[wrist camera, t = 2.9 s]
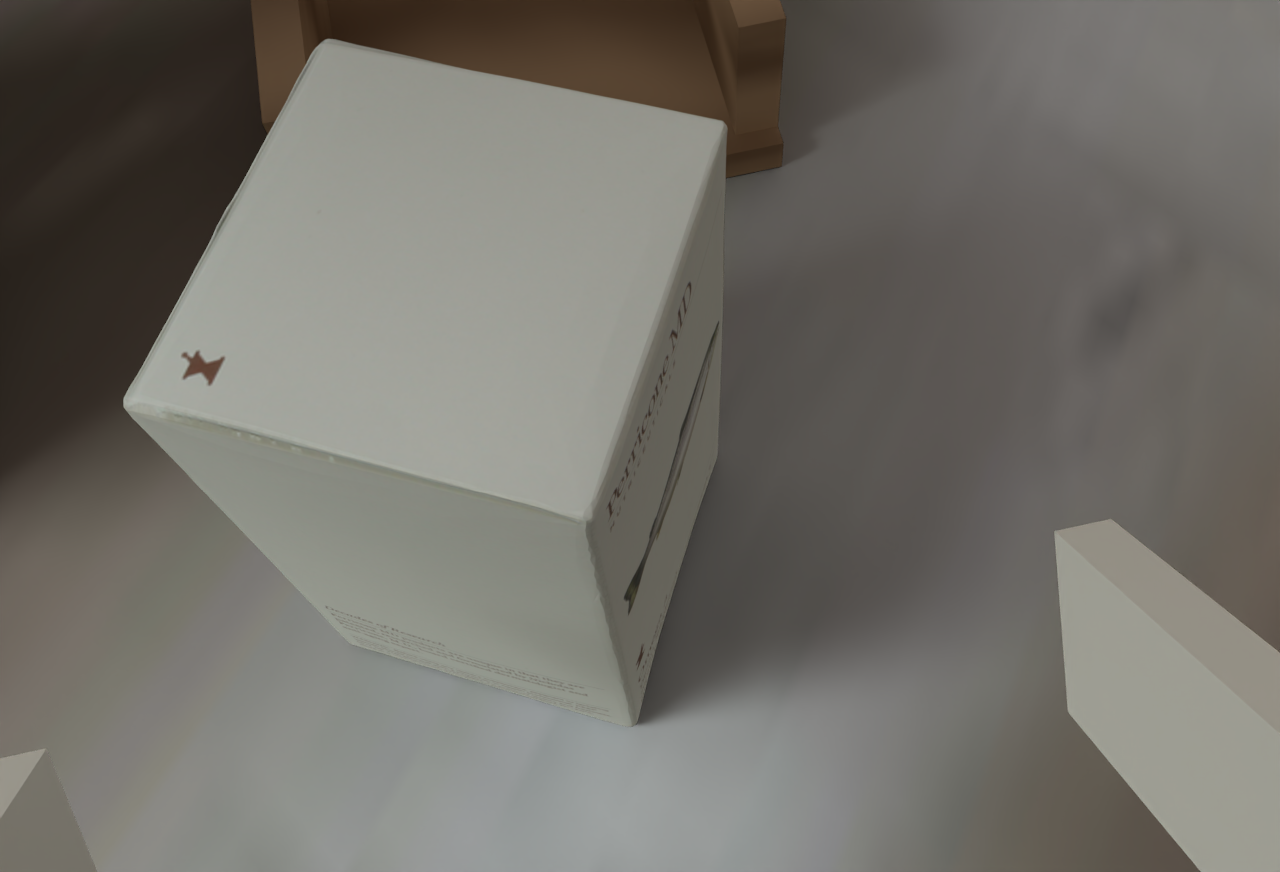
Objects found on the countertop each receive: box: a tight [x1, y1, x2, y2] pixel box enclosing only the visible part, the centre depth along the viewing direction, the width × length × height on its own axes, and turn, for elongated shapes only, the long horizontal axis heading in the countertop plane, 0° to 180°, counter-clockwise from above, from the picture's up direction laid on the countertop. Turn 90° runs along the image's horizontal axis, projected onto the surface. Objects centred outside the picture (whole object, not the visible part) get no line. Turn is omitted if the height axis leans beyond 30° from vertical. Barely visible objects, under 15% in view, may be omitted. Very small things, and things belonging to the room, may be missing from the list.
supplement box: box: [123, 39, 728, 727], centre depth 23 cm, size 7×7×13 cm
